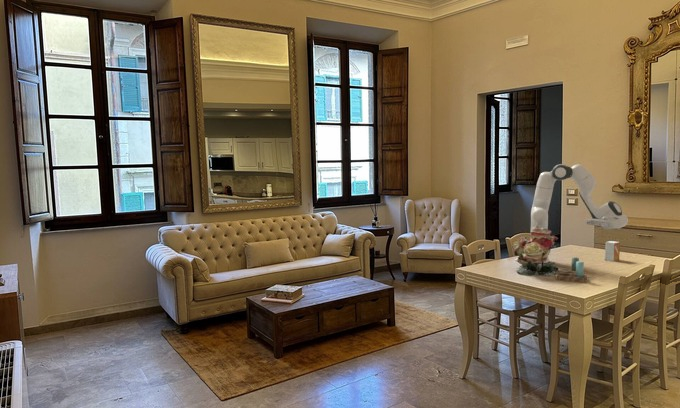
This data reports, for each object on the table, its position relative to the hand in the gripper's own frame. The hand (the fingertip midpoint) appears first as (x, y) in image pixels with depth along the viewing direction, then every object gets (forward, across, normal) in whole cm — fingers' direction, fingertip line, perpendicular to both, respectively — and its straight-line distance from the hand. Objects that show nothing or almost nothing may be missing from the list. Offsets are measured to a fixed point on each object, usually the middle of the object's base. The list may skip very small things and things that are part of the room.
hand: (593, 223), depth 303 cm
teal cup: (+19, -1, +31) cm, 36 cm away
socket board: (+29, +9, +31) cm, 43 cm away
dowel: (+27, +12, +31) cm, 43 cm away
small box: (-41, -15, +31) cm, 54 cm away
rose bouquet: (+33, -16, +31) cm, 48 cm away
